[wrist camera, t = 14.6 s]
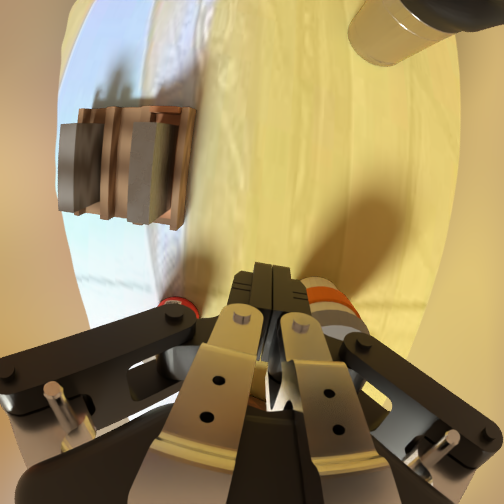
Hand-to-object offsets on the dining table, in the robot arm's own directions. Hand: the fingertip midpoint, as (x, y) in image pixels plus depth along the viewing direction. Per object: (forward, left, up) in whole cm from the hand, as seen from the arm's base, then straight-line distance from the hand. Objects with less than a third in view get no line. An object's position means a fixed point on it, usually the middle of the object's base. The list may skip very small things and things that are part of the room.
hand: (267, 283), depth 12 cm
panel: (-1, -15, -27) cm, 31 cm away
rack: (-1, -21, -29) cm, 36 cm away
